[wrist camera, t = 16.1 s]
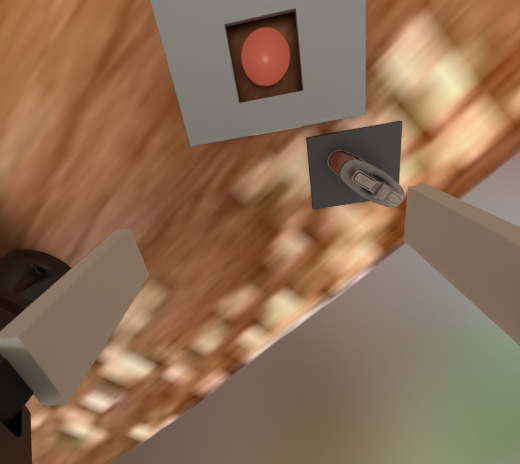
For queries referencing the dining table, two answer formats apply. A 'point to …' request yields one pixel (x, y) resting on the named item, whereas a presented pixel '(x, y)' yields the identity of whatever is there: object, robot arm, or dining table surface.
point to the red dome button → (265, 57)
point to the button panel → (222, 73)
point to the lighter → (365, 178)
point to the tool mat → (361, 145)
